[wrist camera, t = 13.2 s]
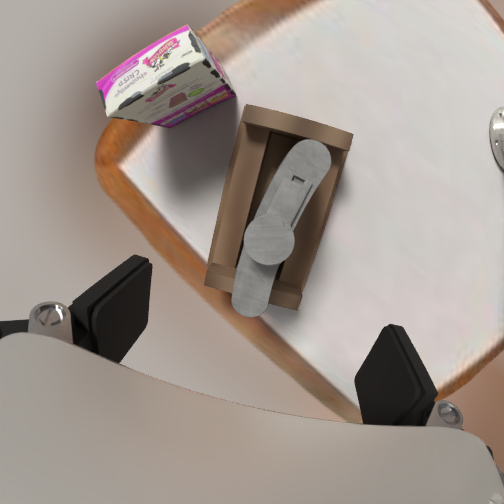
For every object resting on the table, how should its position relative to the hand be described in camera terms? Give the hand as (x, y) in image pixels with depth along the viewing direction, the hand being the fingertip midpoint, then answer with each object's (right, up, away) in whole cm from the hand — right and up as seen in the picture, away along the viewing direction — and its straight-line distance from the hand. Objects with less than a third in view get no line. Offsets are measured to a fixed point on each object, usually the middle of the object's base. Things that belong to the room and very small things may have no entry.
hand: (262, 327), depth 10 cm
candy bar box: (-8, +25, +26) cm, 37 cm away
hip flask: (+3, +10, +29) cm, 30 cm away
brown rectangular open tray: (+3, +10, +29) cm, 31 cm away
